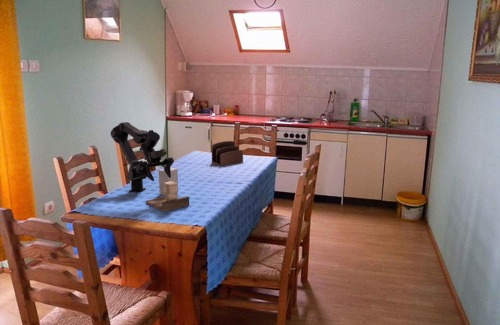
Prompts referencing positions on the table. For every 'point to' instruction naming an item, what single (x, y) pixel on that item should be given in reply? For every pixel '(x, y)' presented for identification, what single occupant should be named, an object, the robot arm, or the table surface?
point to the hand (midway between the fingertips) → (162, 179)
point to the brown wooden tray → (168, 203)
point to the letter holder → (226, 153)
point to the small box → (167, 178)
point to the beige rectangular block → (170, 190)
